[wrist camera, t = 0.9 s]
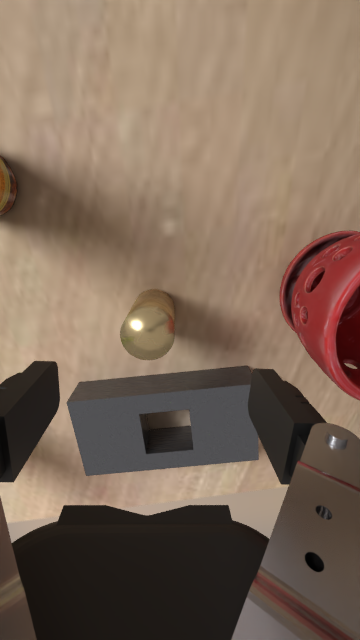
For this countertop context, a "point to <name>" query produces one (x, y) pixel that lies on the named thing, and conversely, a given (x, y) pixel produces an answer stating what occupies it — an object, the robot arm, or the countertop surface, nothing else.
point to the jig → (169, 443)
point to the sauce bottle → (6, 187)
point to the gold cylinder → (149, 326)
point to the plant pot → (327, 305)
